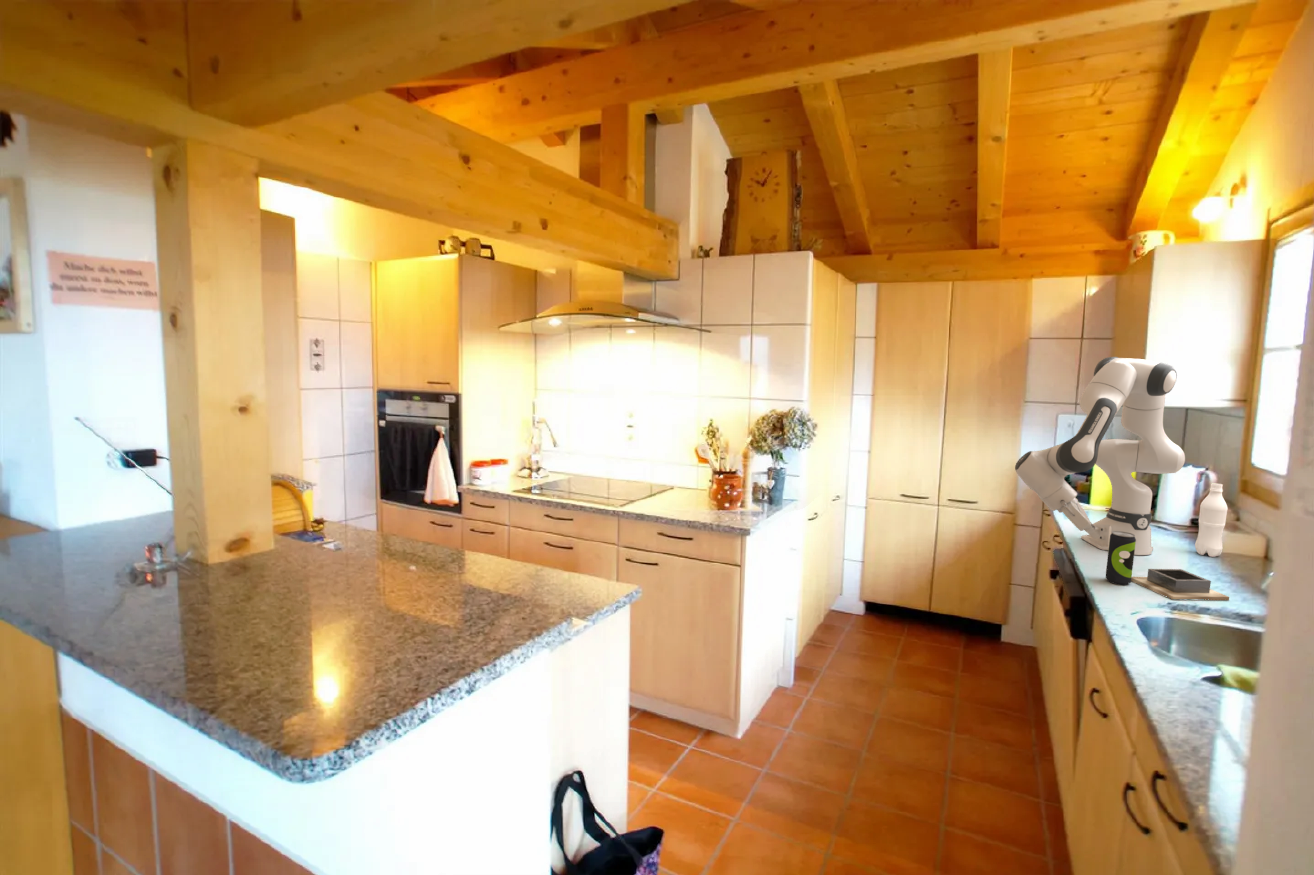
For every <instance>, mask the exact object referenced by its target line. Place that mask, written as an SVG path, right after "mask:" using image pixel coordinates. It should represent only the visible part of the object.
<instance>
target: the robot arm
mask: <svg viewBox="0 0 1314 875" xmlns="http://www.w3.org/2000/svg"><path fill="white" fill-rule="evenodd" d="M1177 376H1178V375H1177V371H1176V369H1175V368H1174V366H1173V365H1170V364H1168V363H1164V362H1155V361H1153V360H1148V359H1141V358H1130V357H1128V358H1127V357H1118V356H1109V357H1104V358H1103V359H1101V360H1100V361H1098V363H1097V364H1096V366H1095V368H1094V371H1093V377H1092V379H1091V380H1090V381H1089V383H1088V384H1087V385H1086V387H1085V388H1084V390H1083V392H1082V394H1081V397H1080V399H1079V407H1080V409H1081V410H1082V412H1083V413H1084V414H1085V415H1086V416H1085V419H1084V420H1083V422H1082V424H1081V426H1080V428H1079V430H1078V431H1077V433H1076V434H1075V435H1074V436H1073V437H1071V438H1070V439H1068V440H1066V441H1065V442H1062V443H1059V444H1057V445H1055V446H1051V447H1049V448H1045V449H1041V450H1036V451H1035V450H1034V451H1033V450H1030V451H1027V452H1026V453H1024V454H1023V455H1022V456H1021V457H1020V458H1019V459H1018V460H1017V461H1016V463H1015V466H1014V469H1015V470H1014V471H1015V472H1016V474H1017V475H1018V477H1019V478H1020V480H1022V481H1023V483H1024V484H1025V485H1026V486H1027V487H1028V488H1029V489H1030V490H1032V491H1033V492H1035V494H1037V496H1038V497H1039V499H1040V500H1041V501H1042V502H1043V503H1044V505H1046V507H1048V509H1049V510H1050V511H1052V512H1053V511H1055V512H1056V511H1057V512H1058V513H1060V514H1061V513H1063V514H1064V516H1065V517H1067V519H1068V520H1069V521H1070V522H1071V523H1072V524H1073V526H1075V528H1077V530H1078V531H1080V532H1082V531H1084V532H1086V533H1087V534H1083V535H1081V537H1080V538H1081V540H1084V541H1085V542H1086V543H1089V544H1091V545H1092V546H1094V547H1095V548H1098V549H1100V550H1103V551H1108V550H1109V541H1110V535H1111V534H1112V531H1122V532H1128V533H1132V534H1134V535H1135V539H1136V543H1135V552H1134V556H1148V555H1152V553H1153V551H1154V546H1152V528H1151V526H1150V524H1151V523H1152V518H1153V516H1152V515H1153V514H1152V512H1151V508H1152V501H1153V491H1152V489H1151V488H1150V487H1149V486H1148V485H1147V484H1145V483H1143V482H1141V481H1139V480H1137V479H1136V478H1134V477H1133V476H1132V474H1133V473H1135V472H1136V473H1146V474H1156V475H1161V474H1162V475H1163V474H1164V475H1166V474H1176V473H1177V472H1179V471H1180V470H1181V469H1182V468H1183V467H1184V465H1185V462H1186V455H1185V452H1184V450H1183V449H1182V448H1181V447H1180V445H1178V444H1176V443H1174V442H1173V441H1172V440H1171V439H1170V438H1169V437H1168V435H1167V434H1166V432H1165V430H1164V429H1165V428H1164V410H1165V403H1166V395H1167V394H1168V393H1170V392H1171V391H1172V390H1173V388H1174V386H1175V384H1176V382H1177ZM1121 407H1122V410H1121V417H1120V418H1121V419H1120V420H1121V421H1120V423H1121V425H1122V427H1123V428H1124V429H1125V430H1126V431H1127V432H1130V433H1131V434H1133V435H1135V436H1137V437H1139V438H1140V440H1137V439H1124V438H1122V439H1121V438H1110V439H1109V438H1108V439H1107V438H1106V439H1103V438H1104V436H1105V435H1106V433H1107V431H1108V429H1109V427H1110V425H1111V424H1112V422H1113V420H1114V419H1115V418H1114V417H1115V416H1116V415H1117V413H1118V412H1119V411H1120V409H1121ZM1094 466H1097V467H1098V468H1100V470H1102V471H1103V472H1104V473H1105V474H1106V475H1107V477H1108V479H1109V481H1110V483H1111V494H1112V495H1111V504H1110V505H1111V507H1109V508H1107V507H1106V508H1105V512H1107V513H1106V516H1105V517H1103V518H1102V519H1100V520H1098V521H1096V522H1093V523H1092V522H1091V520H1090V518H1089V517H1088V515H1087V513H1086V511H1085V509H1084V508H1083V506H1082V505H1081V504H1080V503H1079V500H1078V498H1076V497H1077V496H1078V492H1077V491H1076V490H1075V489H1074V488H1073V487H1072V485H1070V484H1069V483H1068V482H1067V481H1066V480H1065V477H1067V476H1068V475H1073V474H1077V473H1084V472H1088V471H1089V470H1091V469H1093V467H1094Z"/></svg>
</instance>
